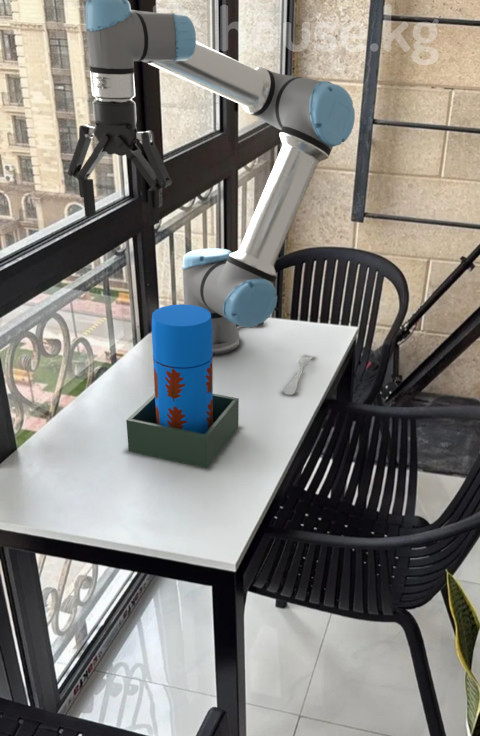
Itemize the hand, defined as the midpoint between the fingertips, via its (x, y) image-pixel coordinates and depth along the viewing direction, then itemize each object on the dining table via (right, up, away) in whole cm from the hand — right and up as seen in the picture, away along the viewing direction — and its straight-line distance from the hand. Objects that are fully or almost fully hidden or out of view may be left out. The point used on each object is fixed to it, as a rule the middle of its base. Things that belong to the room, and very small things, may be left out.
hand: (122, 219), depth 145 cm
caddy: (+12, -42, +2) cm, 44 cm away
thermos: (+12, -42, +2) cm, 43 cm away
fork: (+34, -27, +30) cm, 53 cm away
